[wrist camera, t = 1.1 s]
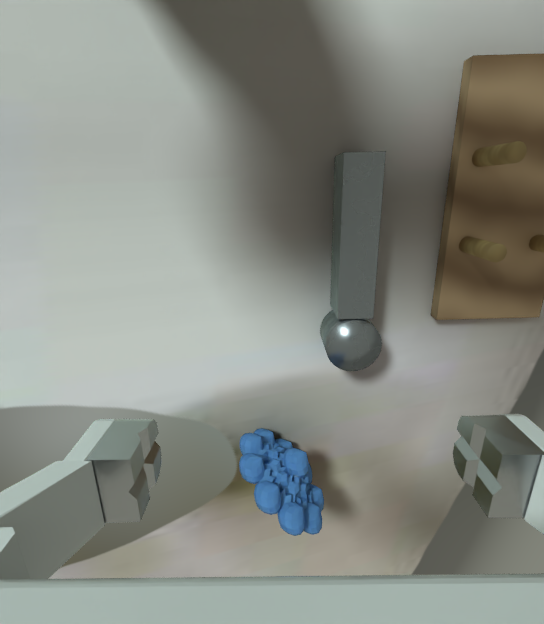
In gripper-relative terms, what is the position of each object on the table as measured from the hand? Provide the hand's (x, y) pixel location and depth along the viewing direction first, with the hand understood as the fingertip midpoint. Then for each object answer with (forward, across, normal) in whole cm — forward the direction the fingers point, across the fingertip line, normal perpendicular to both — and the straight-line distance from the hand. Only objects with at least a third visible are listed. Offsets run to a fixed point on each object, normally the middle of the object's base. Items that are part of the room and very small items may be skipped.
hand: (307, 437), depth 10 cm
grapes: (+30, 0, +23) cm, 38 cm away
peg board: (+29, -22, -5) cm, 37 cm away
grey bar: (+29, -7, +1) cm, 30 cm away
